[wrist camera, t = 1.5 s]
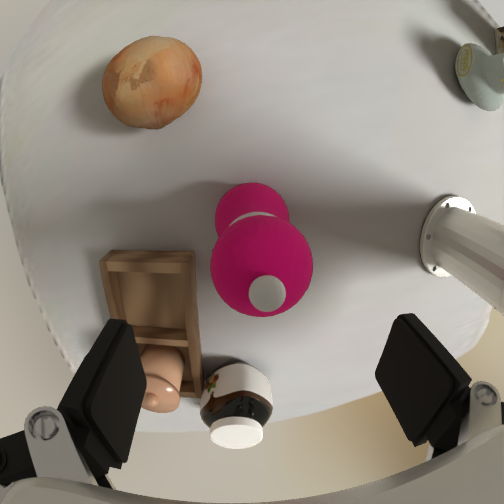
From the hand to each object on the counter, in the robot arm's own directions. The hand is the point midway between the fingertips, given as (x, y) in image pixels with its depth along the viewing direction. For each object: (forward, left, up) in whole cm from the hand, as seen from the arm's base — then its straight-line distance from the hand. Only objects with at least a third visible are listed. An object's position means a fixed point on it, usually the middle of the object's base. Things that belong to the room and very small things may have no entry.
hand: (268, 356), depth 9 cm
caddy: (+12, +16, -24) cm, 31 cm away
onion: (+10, -14, -24) cm, 29 cm away
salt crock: (+12, +21, -23) cm, 33 cm away
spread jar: (+1, +28, -24) cm, 37 cm away
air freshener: (-33, -24, -24) cm, 48 cm away
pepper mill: (0, 0, -24) cm, 24 cm away
